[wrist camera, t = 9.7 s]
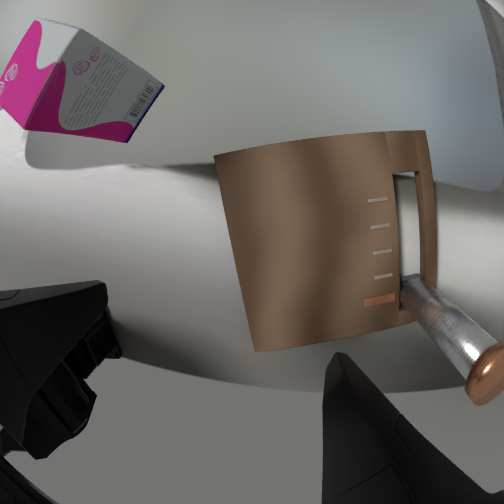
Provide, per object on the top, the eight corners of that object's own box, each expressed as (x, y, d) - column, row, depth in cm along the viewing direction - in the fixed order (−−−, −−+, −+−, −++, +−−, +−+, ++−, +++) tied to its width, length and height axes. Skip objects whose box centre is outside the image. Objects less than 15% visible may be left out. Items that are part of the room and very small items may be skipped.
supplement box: (120, 61, 18) (36, 12, 7) (167, 86, 19) (86, 26, 8) (84, 116, 19) (-12, 98, 8) (127, 145, 20) (24, 133, 9)
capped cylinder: (390, 310, 22) (465, 414, 9) (390, 272, 21) (484, 364, 8) (424, 302, 22) (508, 390, 9) (425, 265, 21) (527, 340, 8)
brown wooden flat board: (255, 345, 24) (254, 352, 23) (216, 156, 20) (213, 155, 19) (428, 311, 22) (433, 316, 21) (419, 131, 18) (426, 130, 17)
